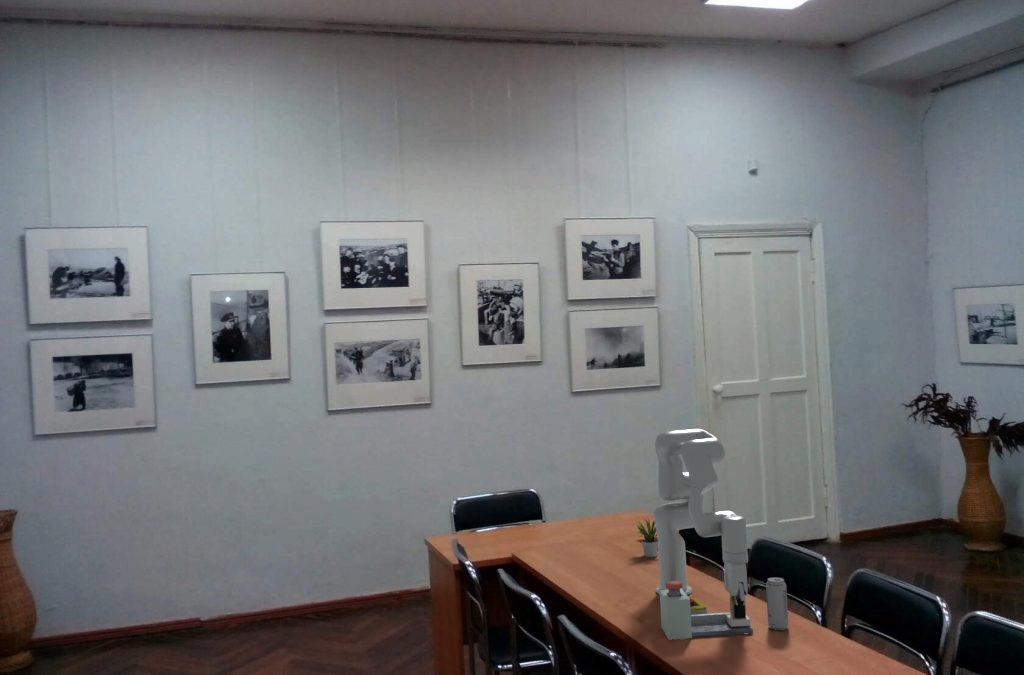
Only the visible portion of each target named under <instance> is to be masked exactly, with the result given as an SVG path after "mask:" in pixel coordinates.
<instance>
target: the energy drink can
mask: <svg viewBox="0 0 1024 675" xmlns="http://www.w3.org/2000/svg"><path fill="white" fill-rule="evenodd" d="M765 589H766V590H765V591H766V612H767V625H768V626H769V628H770V629H771V628H772V629H775V630H774V631H776V630H783V631H786V630H787V628H788V627H789V612H788V611H789V609H788V595H787V594H788V592H787V584H786V582H785V579H784V578H782V577H774V576H773V577H769V578H767V582H766V584H765ZM772 629H771V630H772ZM785 629H786V630H785Z"/></svg>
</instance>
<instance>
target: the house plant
mask: <svg viewBox="0 0 1024 675" xmlns="http://www.w3.org/2000/svg"><path fill="white" fill-rule="evenodd" d="M642 519H643V520H644V522H645V524H646V528H647V530H646V528H645V526H644V525H643V524H642V523H641V522H639V521H638V520H636V522H637V524H636V526H637V528H638V530H639V531H637V534H641V535H639V537H638V538H640V537H643V539H642V540H641V544H642V549H643V554H644V557H646V558H655V557H658V554H659V552H658V538H656V537H657V530H656V525H655V521H654V520H653V521H652V524H651V522H650V519H649V518H647V519H645V518H644V517H642ZM654 526H655V527H654Z"/></svg>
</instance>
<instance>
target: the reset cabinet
mask: <svg viewBox="0 0 1024 675" xmlns="http://www.w3.org/2000/svg"><path fill="white" fill-rule="evenodd" d="M689 598H690V597H689V596H688V595H686V594H685V592H684V591H683V590H682V589H680V596H678V597H669V593H668V590H660V594H659V603H660V604H659V605H660V606H659V607H660V622H661V623H660V624H661V630H662V629H663V630H664V631H663V630H662V631H663V633H664V632H665V633H664V634H665V636H666V635H667V636H666V637H668V638H667V639H668V641H673V640H672V639H680V640H688V639H687V638H692V629H691V610H690V599H689ZM685 638H686V639H685Z"/></svg>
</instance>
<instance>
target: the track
mask: <svg viewBox="0 0 1024 675" xmlns="http://www.w3.org/2000/svg"><path fill="white" fill-rule="evenodd" d="M726 615H730V611H729V612H716V613H707V614H697V615H691V629H692V637H693V638H707V637H706V636H709V637H721V636H720V635H724V636H736V635H735V634H740V635H745V634H744V633H753V634H754V629H753V627H752V626H736V627H731V626H730V625H729V623H728V622H727V616H726ZM717 635H718V636H717ZM703 636H705V637H703Z"/></svg>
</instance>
